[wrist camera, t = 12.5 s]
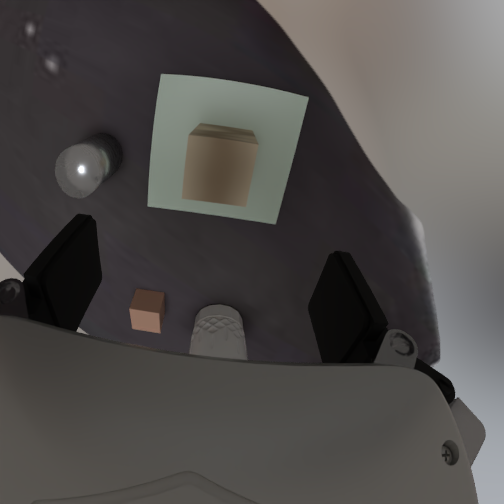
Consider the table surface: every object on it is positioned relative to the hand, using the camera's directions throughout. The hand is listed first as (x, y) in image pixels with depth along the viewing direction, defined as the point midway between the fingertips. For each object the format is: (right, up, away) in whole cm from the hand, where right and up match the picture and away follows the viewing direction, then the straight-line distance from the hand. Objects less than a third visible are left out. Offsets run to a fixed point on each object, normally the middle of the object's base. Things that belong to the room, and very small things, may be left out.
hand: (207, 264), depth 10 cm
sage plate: (-1, +11, +16) cm, 19 cm away
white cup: (-3, -9, +29) cm, 31 cm away
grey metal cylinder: (-14, +11, +15) cm, 23 cm away
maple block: (-1, +10, +15) cm, 18 cm away
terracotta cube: (-13, -6, +26) cm, 30 cm away
